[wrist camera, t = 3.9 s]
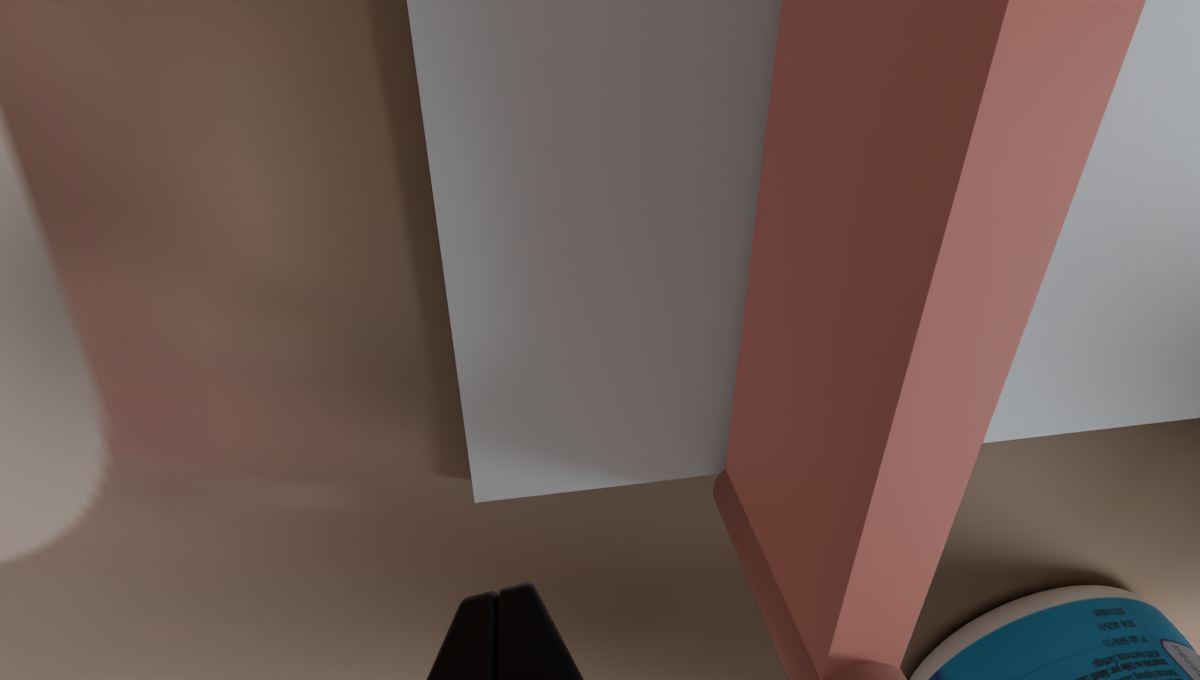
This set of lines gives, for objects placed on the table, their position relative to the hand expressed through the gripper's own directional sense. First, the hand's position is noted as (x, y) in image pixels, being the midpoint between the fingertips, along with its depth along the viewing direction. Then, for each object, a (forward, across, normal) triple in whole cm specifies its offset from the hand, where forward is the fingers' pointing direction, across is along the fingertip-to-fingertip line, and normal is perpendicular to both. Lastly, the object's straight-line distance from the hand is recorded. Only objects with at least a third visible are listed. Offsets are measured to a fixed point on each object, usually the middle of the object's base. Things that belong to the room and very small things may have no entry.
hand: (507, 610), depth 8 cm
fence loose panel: (+5, -5, -1) cm, 7 cm away
